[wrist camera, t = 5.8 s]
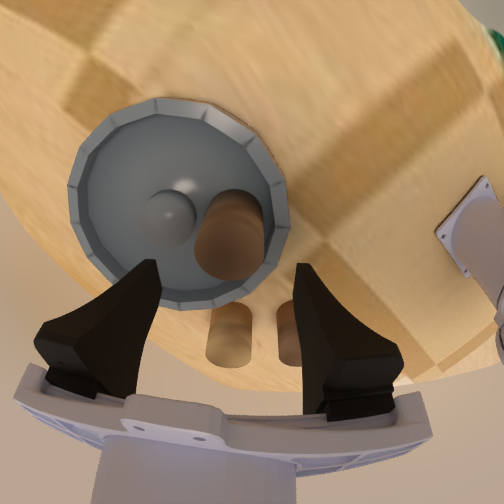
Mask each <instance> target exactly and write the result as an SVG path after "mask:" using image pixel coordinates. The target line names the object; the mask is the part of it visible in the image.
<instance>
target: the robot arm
mask: <svg viewBox="0 0 504 504" xmlns="http://www.w3.org/2000/svg"><path fill="white" fill-rule="evenodd" d="M442 235H443V236H442ZM436 236H437V237H438V239H439V240H440V241H441V243H442V244H443V246H444V247H445V248H446V250H447V251H448V253H449V254H450V255H451V257H452V258H453V260H454V261H455V263H456V264H457V266H458V267H459V269H460V270H461V272H462V273H463V275H464V277H465V278H469V277H470V276H471V275H472V276H473V278H474V279H475V280H476V281H477V283H478V284H479V285H480V287H481V288H482V290H483V291H484V292H485V294H486V295H487V296H488V298H489V299H490V301H491V302H492V304H493V305H494V307H495V308H496V310H497V313H496V315H495V317H494V320H495V322H496V323H497V325H498V327H499V328H498V329H497V332H496V347H497V351H498V354H499V357H500V359H501V361H502V363H503V365H504V207H502V206H501V205H500V204H499V203H498V200H497V198H496V196H495V193H494V191H493V189H492V186H491V184H490V182H489V180H488V178H487V177H486V176H482V177H481V179H480V180H479V181H478V182H477V184H476V185H475V186H474V187H473V189H472V190H471V191H470V192H469V193H468V195H467V196H466V197H465V198H464V199H463V201H462V202H461V203H460V204H459V205H458V206H457V208H456V209H455V210H454V211H453V212H452V213H451V214H450V216H449V217H448V218H447V219H446V220H445V221H444V222H443V223H442V224H441V225H440V227H439V228H438V229H437V230H436ZM162 290H163V288H162V284H161V280H160V276H159V272H158V267H157V263H156V259H144V260H143V261H142V262H140V263H139V264H138V265H137V266H135V267H134V268H133V269H132V270H131V271H130V272H128V273H127V274H126V275H125V276H124V277H123V278H121V279H120V280H119V281H118V282H116V283H115V284H114V285H113V286H111V287H110V288H109V289H108V290H106V291H105V292H104V293H102V294H101V295H99V296H98V297H96V298H95V299H94V300H92V301H90V302H88V303H87V304H85V305H83V306H81V307H80V308H78V309H76V310H74V311H72V312H70V313H68V314H65V315H63V316H61V317H58V318H55V319H53V320H50V321H47V322H44V323H43V325H42V327H41V328H40V330H39V331H38V333H37V335H36V337H35V339H34V345H35V348H36V349H37V351H38V352H39V354H40V355H41V356H42V358H43V359H44V360H45V361H46V363H47V364H48V365H49V366H50V367H49V369H48V371H47V370H46V369H44V368H42V367H40V366H37V365H35V364H32V363H29V365H28V366H27V369H26V370H25V373H24V374H23V377H22V379H21V381H20V383H19V385H18V387H17V390H16V392H15V394H14V396H13V400H15V402H17V403H18V404H19V405H20V406H21V407H23V408H24V409H25V410H26V411H27V412H28V413H30V414H31V415H32V416H33V417H35V418H36V419H37V420H38V421H40V422H42V423H44V424H46V425H48V426H50V427H52V428H54V429H56V430H58V431H60V432H62V433H64V434H66V435H68V436H70V437H72V438H74V439H76V440H79V441H81V442H83V443H86V444H88V445H90V446H92V447H95V448H97V449H100V450H102V453H101V457H100V461H99V465H98V469H97V474H96V478H95V484H94V488H93V493H92V498H91V504H296V477H304V476H313V475H319V474H326V473H331V472H337V471H342V470H347V469H352V468H356V467H360V466H364V465H368V464H373V463H376V462H380V461H384V460H387V459H391V458H395V457H398V456H402V455H405V454H407V453H409V452H410V451H412V450H414V449H415V448H417V447H419V446H420V445H422V444H423V443H425V442H427V441H428V440H430V439H431V438H432V437H433V434H432V430H431V427H430V423H429V419H428V416H427V412H426V409H425V406H424V402H423V399H422V396H421V393H420V392H419V391H417V392H413V393H409V394H404V395H400V396H398V397H395V398H394V399H393V396H392V393H393V391H394V387H393V384H392V383H393V382H394V381H395V379H396V378H397V377H398V375H399V374H400V373H401V371H402V369H403V367H404V361H403V358H402V355H401V353H400V350H399V348H398V346H397V344H395V343H393V342H392V341H390V340H388V339H386V338H384V337H382V336H381V335H379V334H377V333H376V332H374V331H373V330H371V329H370V328H368V327H367V326H366V325H364V324H363V323H362V322H360V321H359V320H358V319H357V318H355V317H354V316H353V315H352V314H351V313H350V312H349V311H347V310H346V309H345V308H344V307H343V306H342V305H341V304H340V303H339V302H338V300H337V299H336V298H335V297H334V296H333V295H332V293H331V292H330V291H329V290H328V288H327V287H326V286H325V285H324V283H323V282H322V281H321V279H320V278H319V276H318V275H317V274H316V272H315V271H314V269H313V268H312V266H311V265H310V264H309V263H297V267H296V274H295V281H294V288H293V307H294V315H295V321H296V326H297V331H298V337H299V342H300V349H301V359H302V380H303V415H293V416H247V415H226V414H224V413H223V412H222V411H221V410H220V409H218V408H216V407H214V406H211V405H207V404H202V403H195V402H186V401H179V400H172V399H165V398H159V397H153V396H148V395H142V394H136V386H137V379H138V372H139V366H140V361H141V356H142V352H143V348H144V344H145V340H146V338H147V335H148V332H149V330H150V327H151V324H152V322H153V319H154V317H155V314H156V311H157V309H158V306H159V303H160V299H161V294H162Z"/></svg>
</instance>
